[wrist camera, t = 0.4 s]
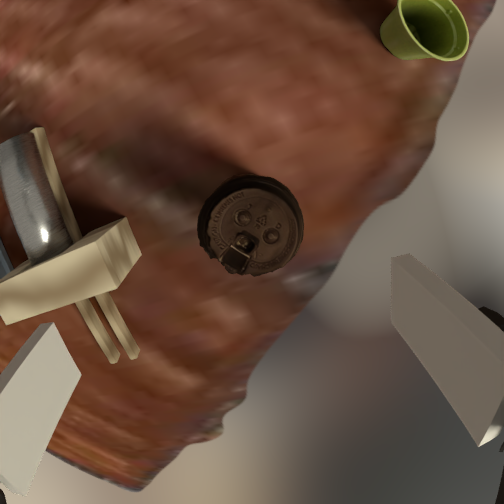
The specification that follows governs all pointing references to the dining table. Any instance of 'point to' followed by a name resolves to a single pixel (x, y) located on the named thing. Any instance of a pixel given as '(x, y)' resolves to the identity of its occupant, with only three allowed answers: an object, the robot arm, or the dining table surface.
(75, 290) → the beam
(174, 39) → the dining table surface
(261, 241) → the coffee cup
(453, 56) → the plant pot
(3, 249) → the v block
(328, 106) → the dining table surface
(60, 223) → the axle
